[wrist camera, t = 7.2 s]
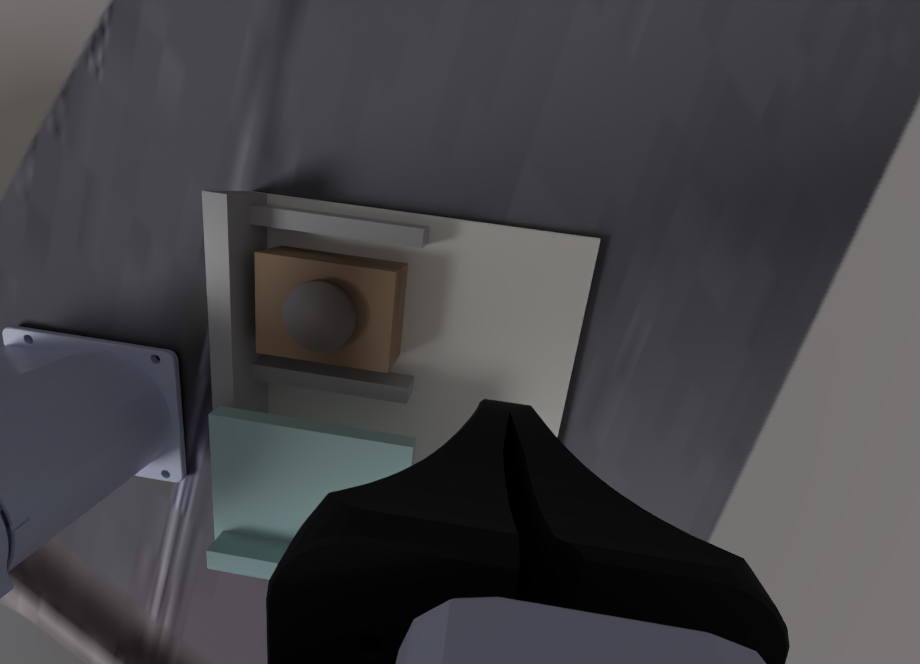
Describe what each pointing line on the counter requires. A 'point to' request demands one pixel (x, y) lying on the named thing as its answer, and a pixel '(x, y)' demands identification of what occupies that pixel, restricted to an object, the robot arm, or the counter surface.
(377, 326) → the block
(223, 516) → the cover
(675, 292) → the counter surface
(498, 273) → the housing
